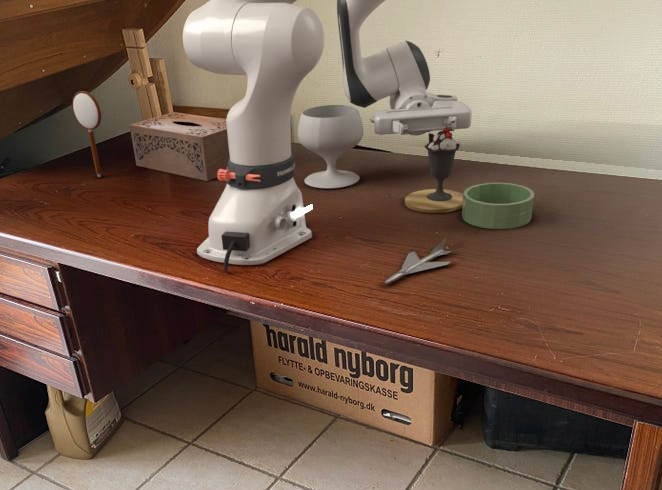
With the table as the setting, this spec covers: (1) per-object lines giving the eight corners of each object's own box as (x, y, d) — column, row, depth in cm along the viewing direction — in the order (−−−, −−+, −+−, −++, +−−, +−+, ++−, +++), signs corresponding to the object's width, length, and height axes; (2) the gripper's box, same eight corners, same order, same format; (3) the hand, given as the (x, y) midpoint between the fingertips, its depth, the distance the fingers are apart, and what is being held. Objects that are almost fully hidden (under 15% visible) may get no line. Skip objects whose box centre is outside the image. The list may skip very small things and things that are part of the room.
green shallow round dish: (523, 232, 127) (526, 208, 125) (453, 224, 133) (454, 200, 130) (538, 209, 136) (541, 186, 134) (472, 202, 142) (474, 180, 139)
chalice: (350, 193, 151) (348, 120, 144) (289, 188, 157) (285, 118, 149) (372, 173, 162) (372, 104, 154) (315, 169, 168) (312, 102, 160)
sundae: (459, 201, 140) (465, 122, 133) (425, 203, 141) (428, 125, 133) (453, 190, 146) (458, 114, 138) (420, 192, 146) (422, 116, 139)
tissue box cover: (136, 165, 181) (129, 124, 176) (179, 151, 190) (173, 111, 185) (207, 181, 166) (201, 137, 161) (250, 164, 175) (246, 122, 170)
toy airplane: (364, 280, 115) (364, 267, 114) (439, 239, 127) (440, 226, 126) (404, 293, 110) (404, 279, 109) (477, 249, 122) (479, 236, 121)
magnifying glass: (84, 176, 176) (66, 90, 166) (89, 174, 178) (72, 89, 167) (109, 180, 172) (93, 92, 162) (115, 178, 173) (98, 91, 163)
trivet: (456, 216, 136) (456, 212, 136) (396, 209, 142) (396, 205, 141) (474, 195, 145) (474, 192, 144) (416, 190, 150) (417, 186, 150)
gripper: (368, 102, 157) (376, 116, 145) (463, 95, 156) (478, 109, 145) (369, 131, 161) (376, 148, 149) (461, 124, 160) (476, 141, 148)
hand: (427, 128), depth 147 cm, fingers open, 8 cm apart
